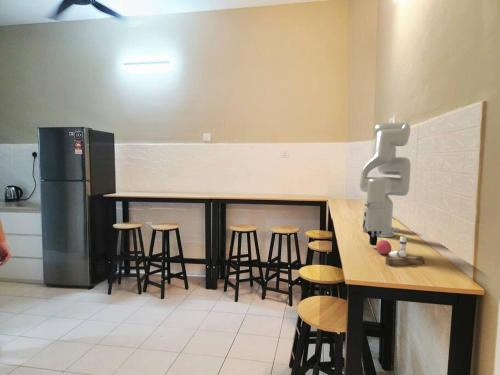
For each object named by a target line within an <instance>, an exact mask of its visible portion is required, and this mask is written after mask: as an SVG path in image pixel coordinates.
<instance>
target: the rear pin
mask: <svg viewBox="0 0 500 375" xmlns="http://www.w3.org/2000/svg"><path fill="white" fill-rule="evenodd" d="M407 238H408V237H407V236H402V235H401V236H400V237H399V246H398V247H399V249H398V251H405V252H406V253H407V251H406V250H407Z"/></svg>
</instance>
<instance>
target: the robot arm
mask: <svg viewBox="0 0 500 375" xmlns="http://www.w3.org/2000/svg"><path fill="white" fill-rule="evenodd" d="M373 129H374V130H373V133H374V137H375V140H374V149H373V156H372V158H371V159H370V160H368V161H367V162H366V163H365V165H364V166H363V168H362V169H361V174H360V180H359V189H360V190H361V192H363V193H367V195H366V203H364V207H365V209H364V212H363V215H362V232H363V233H365V234H367V236H369V240H368V242H369V245H370V246H372V247H374V246H377V243H378V238H379V237H381V238H393V237H394V236H395V233H394V232H399V231H400V227H393V226H392V225H393V210H394V202H393V200H392V199H391V198H390V196H401V197H404V196H407V195H408V193H409V191H410V179H411V160H410V159H409V158H408V157H405V156H396V154H397V147H405V146H406V145H407V144H408V142H409V138H410V135H411V126H410V124H409V123H408V122H393V123H392V122H388V123H387V122H385V123H378V124H376V125H375V126H374V128H373ZM375 168H377V171H378V173H379V174H381V175H387V176H379V177H377V176H376V177H375V176H368V175H369V173H370V172H371V171H372V170H374V169H375ZM388 175H389V176H388ZM390 175H391V176H390ZM393 176H399V177H393Z"/></svg>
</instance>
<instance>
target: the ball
mask: <svg viewBox="0 0 500 375" xmlns="http://www.w3.org/2000/svg"><path fill="white" fill-rule="evenodd" d="M391 244H392V243H391V242H389V241H388V240H380V241H379V242H378V241H377V245H376V250H377V252H378V253H379V254H380V255H388V254H389V252H390V251H392V245H391Z"/></svg>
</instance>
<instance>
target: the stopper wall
mask: <svg viewBox="0 0 500 375" xmlns="http://www.w3.org/2000/svg"><path fill="white" fill-rule="evenodd" d="M425 262H426V257H424V256H422V255H417V256H413V255H412V256H405V257H390V256H389V257H385V265H387V266H390V267H391V266H404V265H406V266H407V265H420V264H421V265H423V264H424V265H425Z"/></svg>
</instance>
